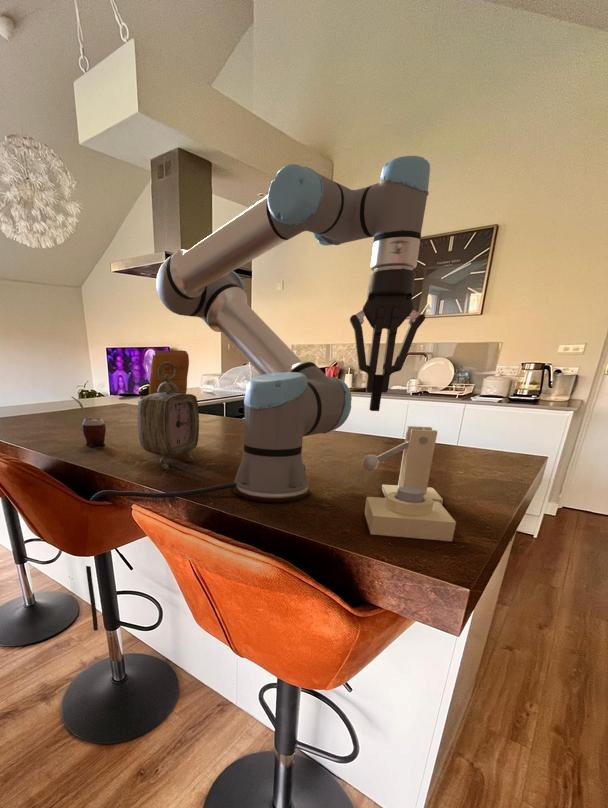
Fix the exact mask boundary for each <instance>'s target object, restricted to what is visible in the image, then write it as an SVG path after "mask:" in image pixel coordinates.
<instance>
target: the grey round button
mask: <svg viewBox="0 0 608 808" xmlns="http://www.w3.org/2000/svg"><path fill="white" fill-rule="evenodd" d="M423 497H424V490H422V489H419V488H415V487H399V488H398V490H397V496H396V499H398V500H401V501H405V502H413V503H419V502H423Z"/></svg>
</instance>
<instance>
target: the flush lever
mask: <svg viewBox="0 0 608 808" xmlns="http://www.w3.org/2000/svg"><path fill="white" fill-rule="evenodd" d="M421 430H426V429H424V428H423V429H421ZM409 441H410V440H408V441H406V442H405V441H404V442H402V443H401V444H399V445H396V446H394V447H392V448H391V449H389V450H387V451H385V452H382V453H380V454H379V455H375V454H367V455H366V456H364V458H363V459H362V466H363V468H364V469H365V470H367V471H375V470H377V469H378V468H379V466H380V462H382V461H384V460H386V459H388V458H390V457H392V456H394V455H396V454H398V453H400V452H403V450H404V449H406V448H408V447H409Z"/></svg>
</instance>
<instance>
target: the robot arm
mask: <svg viewBox="0 0 608 808" xmlns="http://www.w3.org/2000/svg"><path fill="white" fill-rule="evenodd" d="M430 173H431V164H430V162H429V160H428V159H425V157H423V156H420V155H405V156H404V155H403V156H398V157H395V158H393V159H391V160H390V161H389V162H387V163H385V164H384V166H383V167H382V169H381V173H380V177H379V181H378V182H377V183H374V184H371V185H368V186H365V187H361V188H357V189H350V188H349V187H347V186H344V185H343V184H341V183H338V182H336V181H334V180H332V179H331V178H328V177H326V176H325V175H323V174H321V173H319V172H317V171H315V170H314V169H313V168H311V167H308V166H303V165H301V164H300V165H299V164H296V163H289V164H286V165H284V166H283V167H281V169H279V170H278V171H277V172H276V175H275V177H274V179H272V180H271V182H270V185H269V188H268V192H267V195H266V196H264V197H263V198H262V199H260V200H259V201H257V202H256V203H255V204H252V205H251V206H250V207H248V208H247V209H245V210H244V211H243V212H241V213H240V214H239V215H237V216H236V217H234V218H233V219H231V220H229V221H228V222H227V223H226V224H223V225H222V226H221V227H219V228H218V229H216V230H215V231H214V232H212V233H210V235H208V236H207V237H205V238H204V239H202V240H200V241H199V242H198V243H196V244H195V245H193V246H192V247H190V248H189V249H183V248H182V249H178V250H177V251H175V252H174V253H172V254H171V255H170V256H168V257H167V258H166V259H165V260H164V261H163V262H162V263H161V265H160V267H159V269H158V271H157V274H156V280H155V283H156V284H155V286H156V292H157V296H158V298H159V300H160V301H161V303H162V304H163V305H164V307H165V308H166V309H167V310H168V311H170V312H171V313H173V314H176V315H179V316H184V317H193V318H200V319H201V320H202V321H203V322H204V323H205V324H206V325H207V326H208V327H209V329H211V330H212V331H213V332H216V333H222V334H223V335H224V336H225V337H226V338H227V339H228V341H230V343H232V345H233V346H234V347H235V348H236V349H237V351H239V353H240V354H241V355H242V356H243V357H244V358H245V359H246V361H248V363H249V364H250V365H251V366H252V367H253V368H254V369H255V370H256V372H257V373H258V374H259V375H255V376H253V377H251V378H250V379H249V380H248V381H247V382H246V385H245V396H244V398H243V404H244V412H243V413H244V415H243V455H242V458H241V461H240V462H239V463H240V464H239V467H238V469H237V472H236V475H235V478H234V480H233V482H228V483H224V484H223V483H222V484H218V485H213V486H208V487H203V488H198V489H191V490H184V491H175V492H174V491H173V492H146V491H133V490H132V491H131V490H124V491H123V490H111V489H107V490H106V489H105V490H101V491H98V492H97V493H95V494H94V495H92V497H91V498H90V500H89V502H96V501H98V500H99V498H101V497H105V496H116V497H138V498H139V497H140V498H152V499H165V498H166V499H167V498H180V497H188V496H195V495H201V494H205V493H206V494H207V493H211V492H215V491H221V490H227V489H232V488H233V492H234V494H236V495H237V496H238V497H241V498H244V499H246V500H250V501H255V502H262V503H289V502H295V501H299V500H301V499H304V498H305V497H307V495H308V492H309V482H308V481H309V480H308V477H307V474H306V465H305V464H304V461H303V457H302V454H303V453H302V452H303V441H304V439H303V438H304V437H307V436H308V437H309V436H313V435H318V434H327V433H330V432H332V431H335V430H337V429H339V428H340V427H341V426H342V425H343V424H344V423H345V422H347V420H348V418H349V416H350V413H351V411H352V410H351V409H352V400H353V398H352V393H351V390H350V387H349V386H348V384H347V383H346V382H345V381H343V379H340V378H338V377H335V376H328V375H327V374H326V373H324V372H323V371H322V369H321V368H319V366H317V364H315V362H313V361H311V360H310V361H302V359H301V358H300V357H299V356H298V355H297V354H296V353H295V352H294V351H293V350H292V349H291V348H290V347H289V346H288V345H287V344H286V343H285V342H284V341H283V339H281V338H280V337H279V336H278V335H277V333H276V332H275V331H273V329H272V328H271V327H270V326H269V325H268V324H267V323H266V322H265V321H264V320H263V319H262V318H261V317H260V316H259V315H258V314H257V313H256V312H255V310H254V309H252V308H251V307H250V306H249V304H248V295H247V293H246V291H245V288H246V286H245V283H244V281H243V279H242V277H241V276H240V275H239V274H238V273H236V271H235V270H237V269H240V268H241V267H242V266H244V265H246V264H248V263H250V262H251V261H253V260H254V259H257V258H258V257H260V256H262V255H263V254H265V253H267V252H268V251H271V250H272V249H274V248H276V247H278V246H280V245H281V244H283V243H284V242H287V241H288V240H290V239H293V238H295V237H296V236H298V235H300V234H302V233H303V232H310V233H312V234H313V236H314V238H315V239H316V240H317V242H318V243H319V244H320V245H321V246H326V247H327V246H340V245H343V244H347V243H351V242H355V241H359V240H363V239H364V240H365V239H368V238H369V239H370V238H373V243H372V252H371V259H370V267H369V269H370V270H371V271H372V272H371V273H370V275H369V278H368V284H367V285H368V286H367V287H368V288H367V295H366V301H365V303H364V304H363V306H362V309H361V310H360V311H359V312H357V313H355V314H352V315H351V316H350V317H349V323H350V325H351V327H352V328H353V331H354V332H353V333H354V339H355V349H356V355H357V365H358V369H359V370H360V371H362V372H364V373H366V374H367V379H366V386H365V390H366V393H371V395H370V402H369V411H371V412H380V409H381V408H380V407H381V400H382V394H383V393H387V392H388V391H389V386H390V379H391V375H392V374H394V373H397V372H400V371H401V370H402V369H403V367H404V364H405V361H406V359H407V358H408V357H407V356H408V354H409V352H410V349H411V346H412V344H413V342H414V339H415V336H416V334H417V331H418V329H419V328H420V327H421V325H422V324H423V323H424V322H425V320H426V315H425V314H420V312H418V311H416V309H414V308H415V306H414V305H415V304H414V302H413V294H414V287H415V281H416V272H415V271H414V269H416V267H418V259H419V251H420V245H421V240H422V239H421V238H422V230H423V223H424V218H425V211H426V207H427V200H428V196H429V186H430ZM364 317H365V318H366V320H367V322H368V323H369V325H370V327H371V328H372V336H371V337H372V338H371V345H370V353H369V361H368V364H367V358H366V350H365V349H366V348H365V340H364V331H363V327H362V325H363V324H364V322H365V320H364ZM407 318H409V319H408V328H407V330H406V331H405V334H404V336H403V339H402V343H401V345H400V347H399V350H398V352H397V356H396V358H395V361H394V355H395V354H394V353H395V346H396V339H397V333H398V329H399V327H401V325H402V324H403V323H404V322H405V321H406V319H407ZM383 330H386V341H385V347H384V348H385V349H384V355H383V364H382V370H381V371H382V374H376V373H377V369H378V361H379V354H380V346H381V338H382V333H383ZM393 361H394V363H393ZM85 572H86V580H87V587H88V594H89V601H90V608H91V616H92V617H91V618H92V628H93V631H95V632H96V631H98V630H99V626H98V625H99V624H98V615H97V614H98V613H97V606H96V598H95V591H94V584H93V575H92V565H91V566H90V565H85Z"/></svg>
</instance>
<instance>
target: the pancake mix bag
mask: <svg viewBox="0 0 608 808" xmlns="http://www.w3.org/2000/svg"><path fill="white" fill-rule="evenodd" d="M164 362H170V363H172V364H173V365H174V366H175V368H176V376H175V378H174V379H172V380H170V382H171V383H174V384H175V385H176V386H177V387H178V390H179V391H178V392H170V393H177V394H187V390H188V374H189V368H190V358H189V353H188V352H187V350H183V349H182V350H181V349H180V350H179V349H178V350H177V349H176V350H175V349H173V350H155V351H154V354H152V360H151V367H150V375H149V384H148V395H150V394H155V393H166V392H158V391H157V390H158V387H159V385H160V384H161V383H164V382H166V381H163V380H162V379H160V377H159V375H158V368H159V366H160V365H161V364H162V363H164ZM167 374H168V375H169V376H170V377H172V376H173V375H174V369H173V367H172V366H170V365H165V366H163V367H162V368H161V369H160V375H161V376H162V377H164V378H165V375H167Z"/></svg>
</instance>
